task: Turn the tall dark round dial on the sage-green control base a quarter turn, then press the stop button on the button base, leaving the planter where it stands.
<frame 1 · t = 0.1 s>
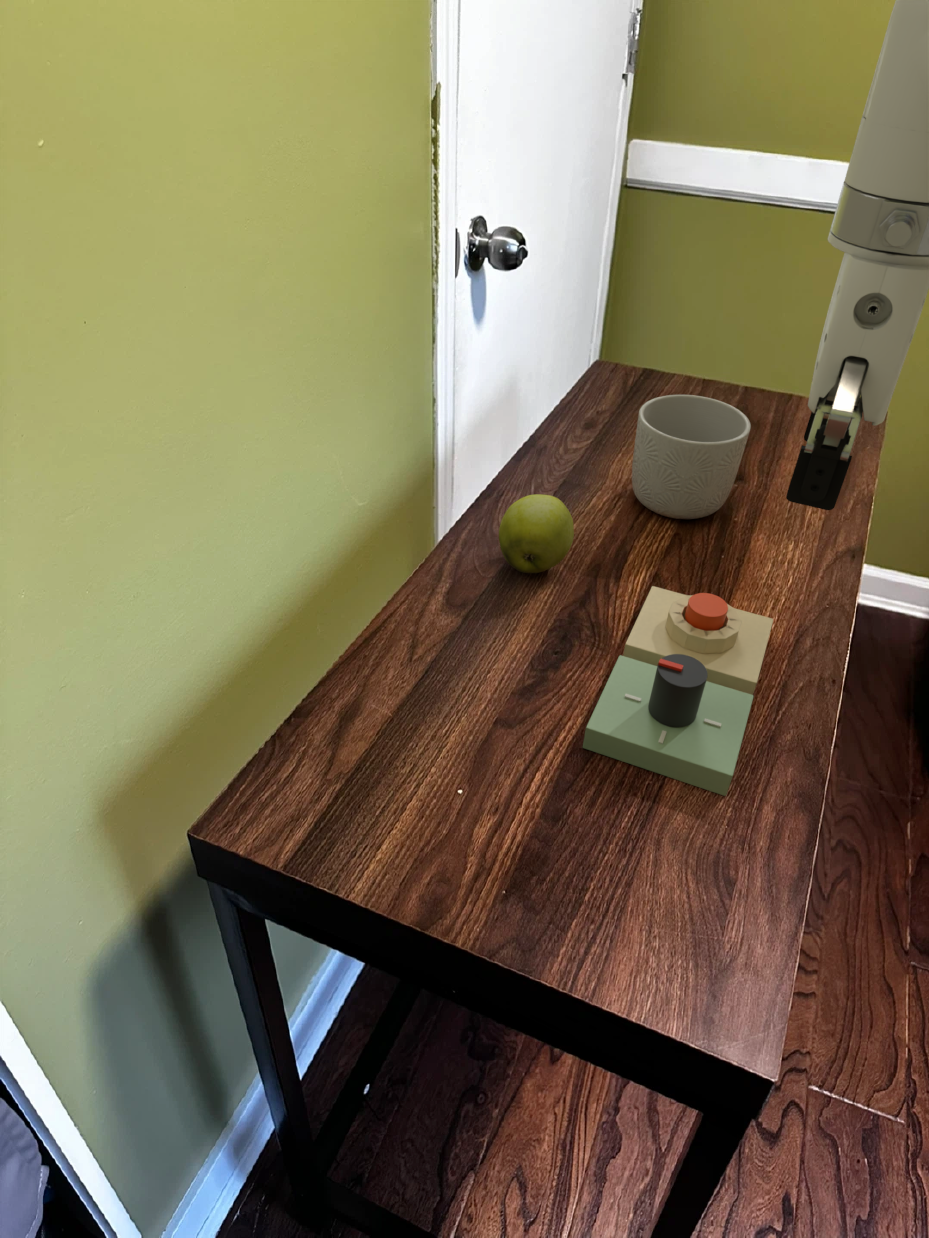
hand: (817, 472, 62), 23 cm above the table, tool pointing down, fingers open, 9 cm apart
planter: (676, 502, 103), on the table
apple: (532, 566, 92), on the table
stop button: (706, 611, 79), point 5 cm above the table, slide at 0.1 cm
dial base: (666, 731, 74), on the table
button base: (696, 648, 82), on the table
dial: (677, 689, 70), point 5 cm above the table, hinge at 0.0°
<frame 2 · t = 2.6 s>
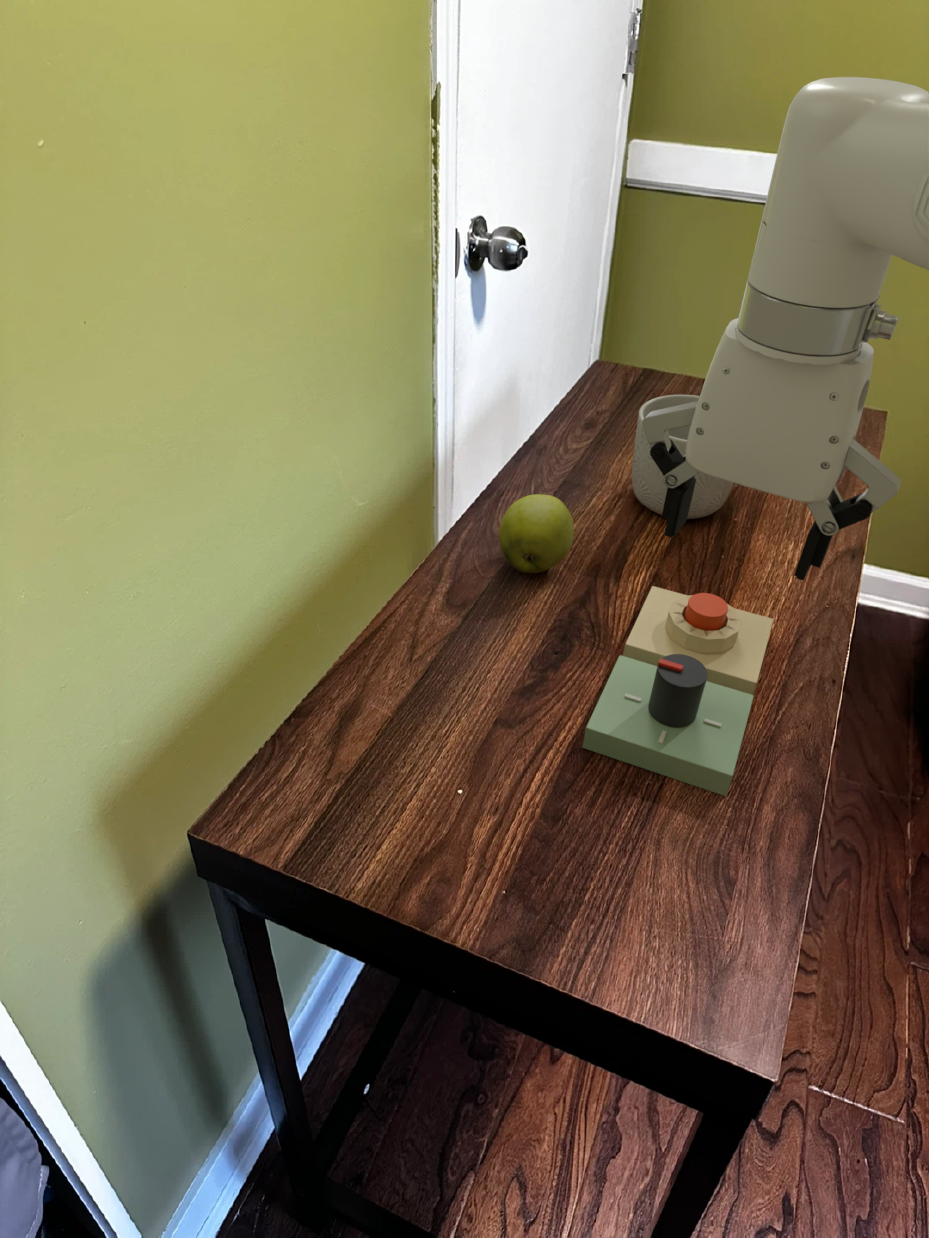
hand: (737, 548, 63), 18 cm above the table, tool pointing down, fingers open, 9 cm apart
nothing on the table moved.
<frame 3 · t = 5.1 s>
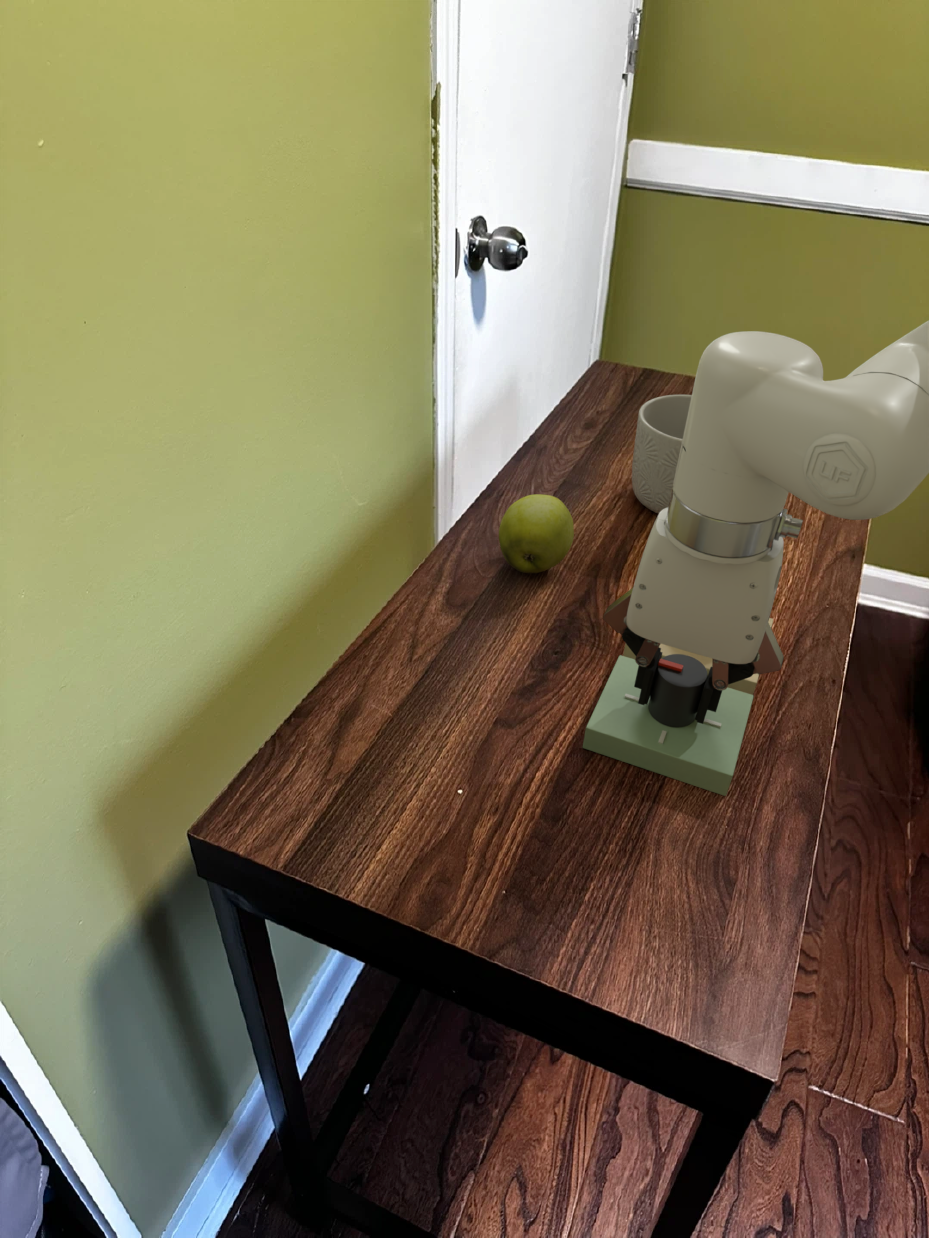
hand: (674, 701, 71), 4 cm above the table, tool pointing down, fingers closed on dial, 4 cm apart
dial: (677, 689, 70), point 5 cm above the table, hinge at 0.1°, touching gripper
everything else where it was.
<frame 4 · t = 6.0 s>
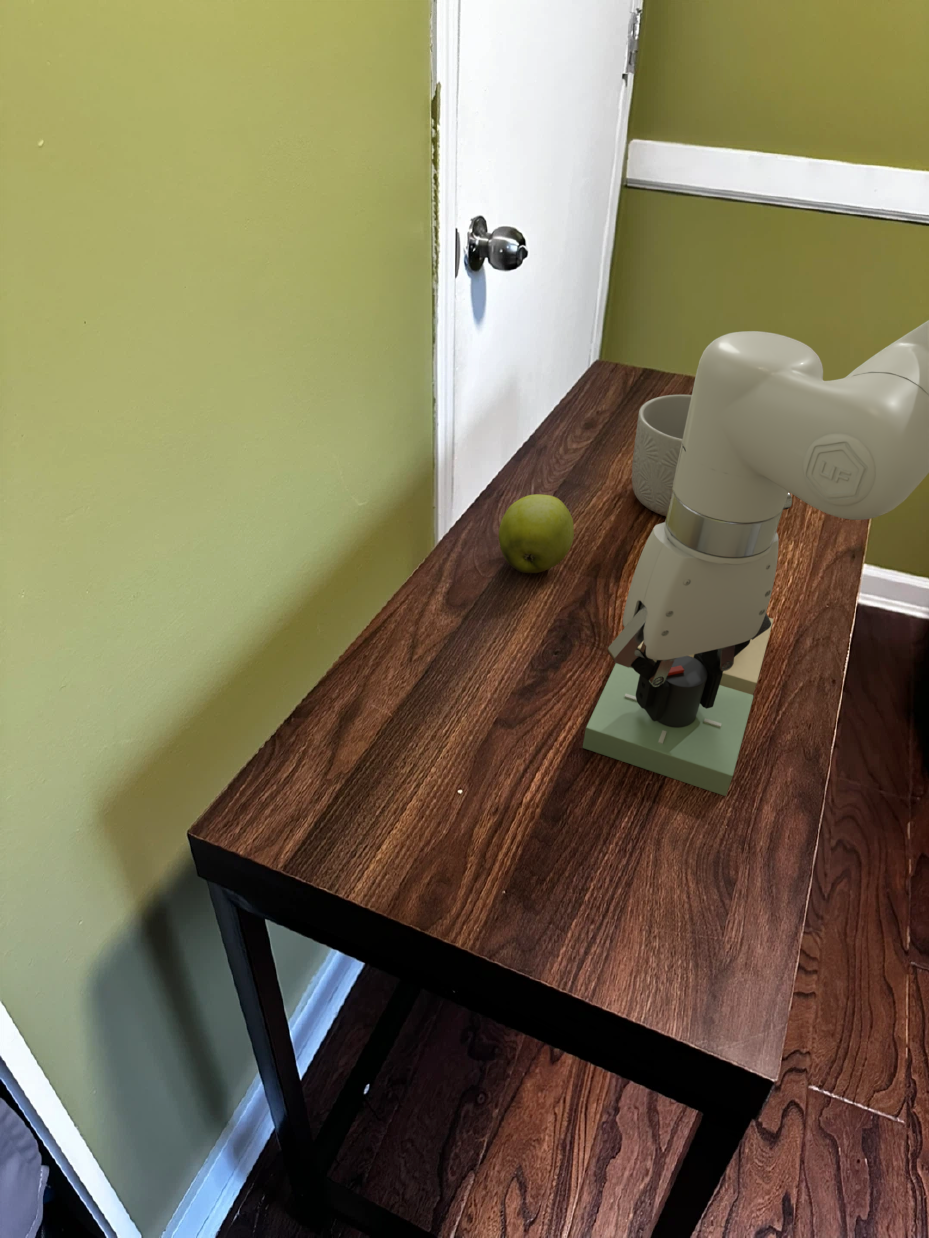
hand: (674, 701, 71), 4 cm above the table, tool pointing down, fingers closed on dial, 4 cm apart
dial: (677, 689, 70), point 5 cm above the table, hinge at 41.9°, touching gripper
everything else where it was.
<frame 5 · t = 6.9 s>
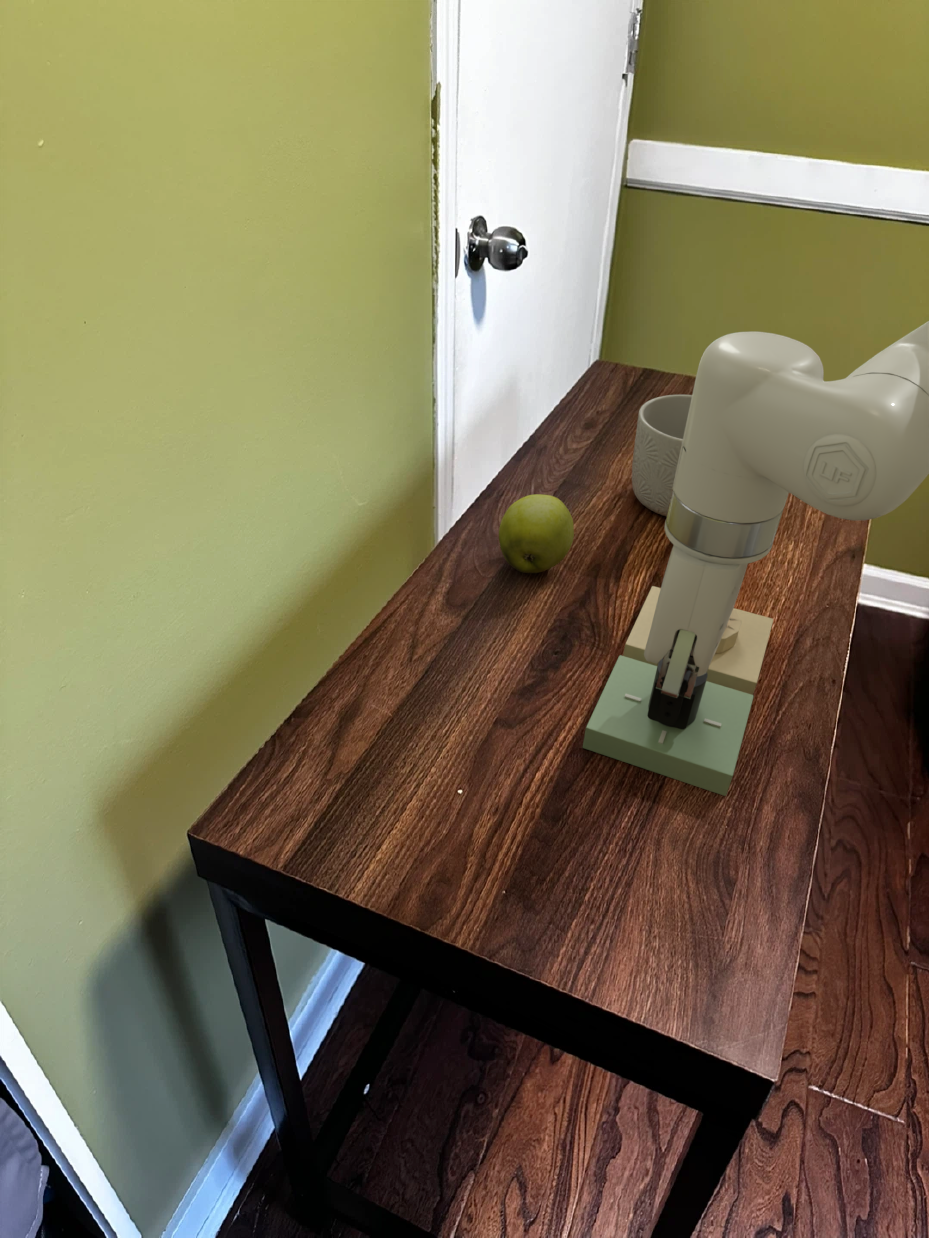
hand: (674, 701, 71), 4 cm above the table, tool pointing down, fingers closed on dial, 4 cm apart
dial: (677, 689, 70), point 5 cm above the table, hinge at 89.6°, touching gripper
everything else where it was.
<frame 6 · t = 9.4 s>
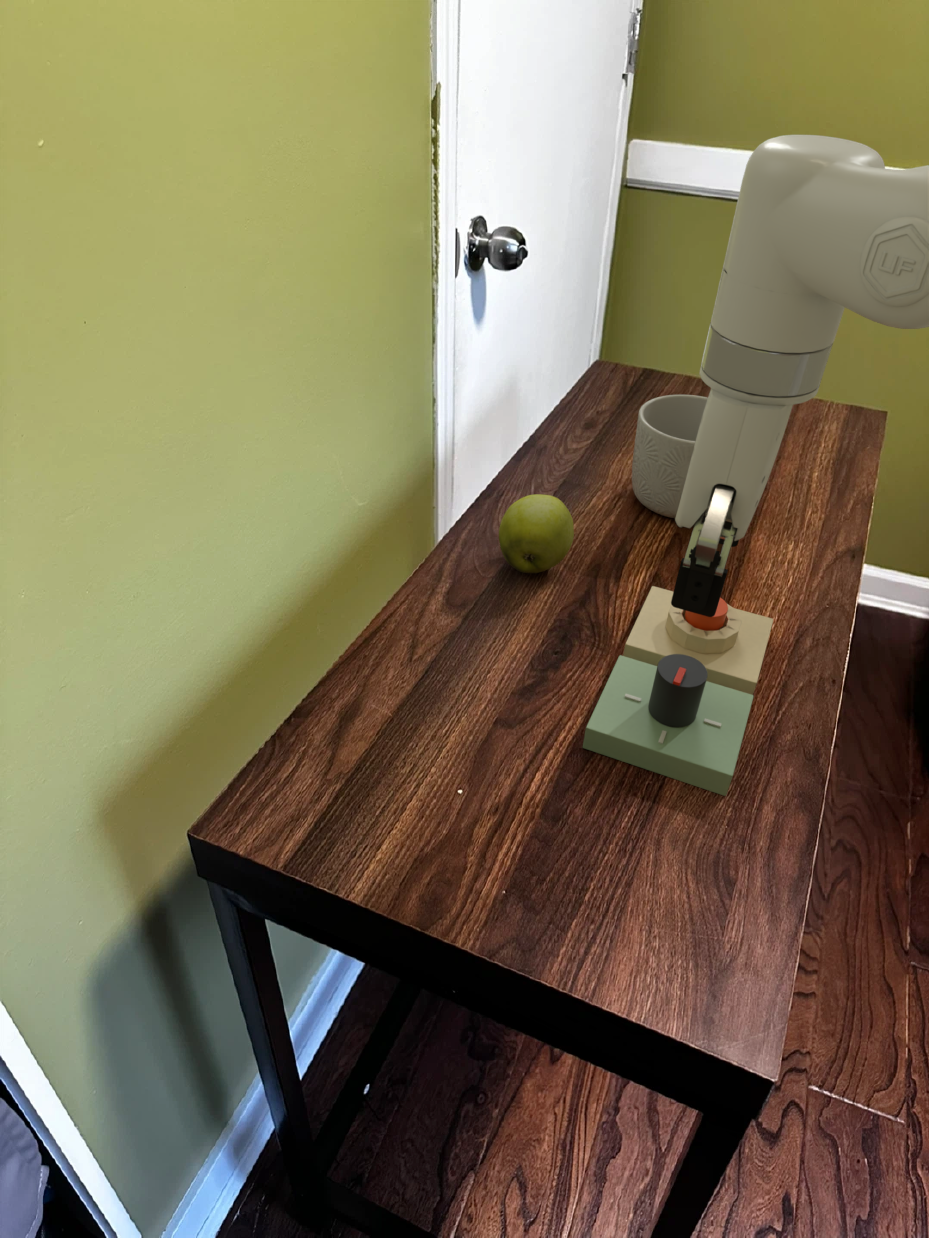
hand: (705, 573, 66), 15 cm above the table, tool pointing down, fingers open, 9 cm apart
dial: (677, 689, 70), point 5 cm above the table, hinge at 87.6°
everything else where it was.
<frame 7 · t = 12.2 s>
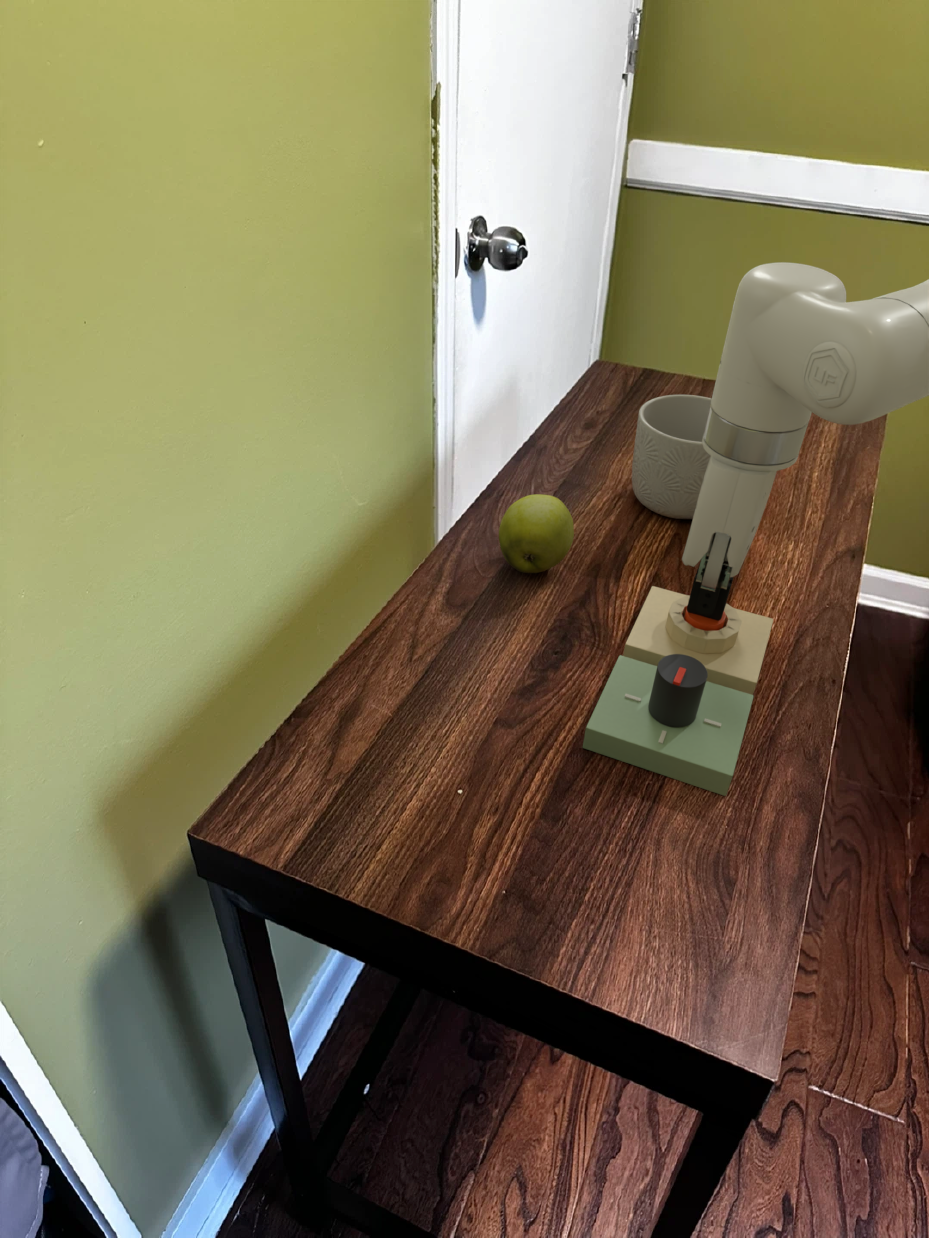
hand: (704, 611, 79), 4 cm above the table, tool pointing down, fingers closed
stop button: (704, 619, 80), point 4 cm above the table, slide at -0.8 cm, touching gripper
everything else where it was.
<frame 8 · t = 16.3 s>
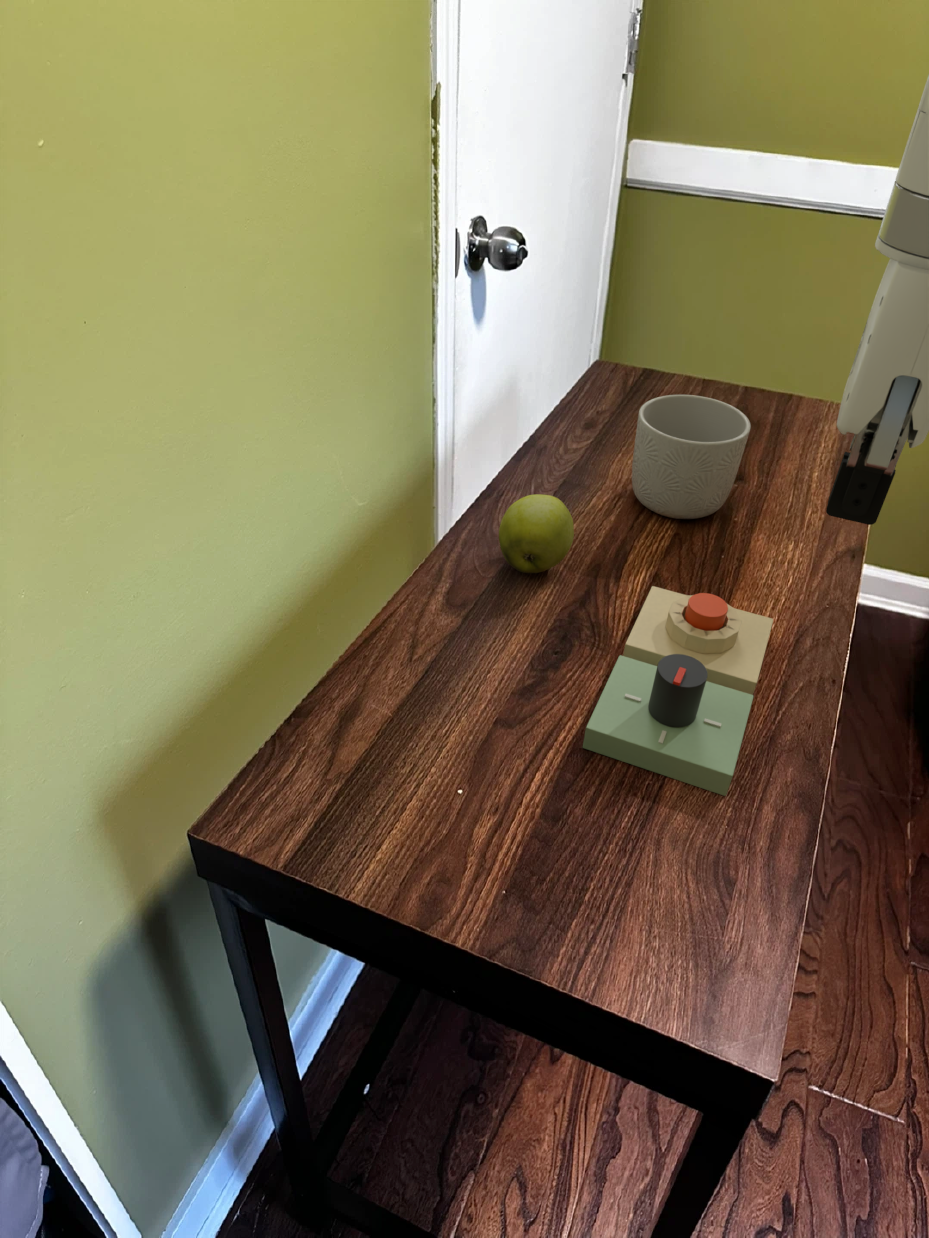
hand: (850, 514, 58), 23 cm above the table, tool pointing down, fingers closed
stop button: (706, 612, 79), point 5 cm above the table, slide at 0.1 cm
everything else where it was.
at the end: dial at +88° (first picture: +0°); stop button pushed in 1.1 cm at the most during the clip, back to where it started at the end; planter moved 0.2 cm from its start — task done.
